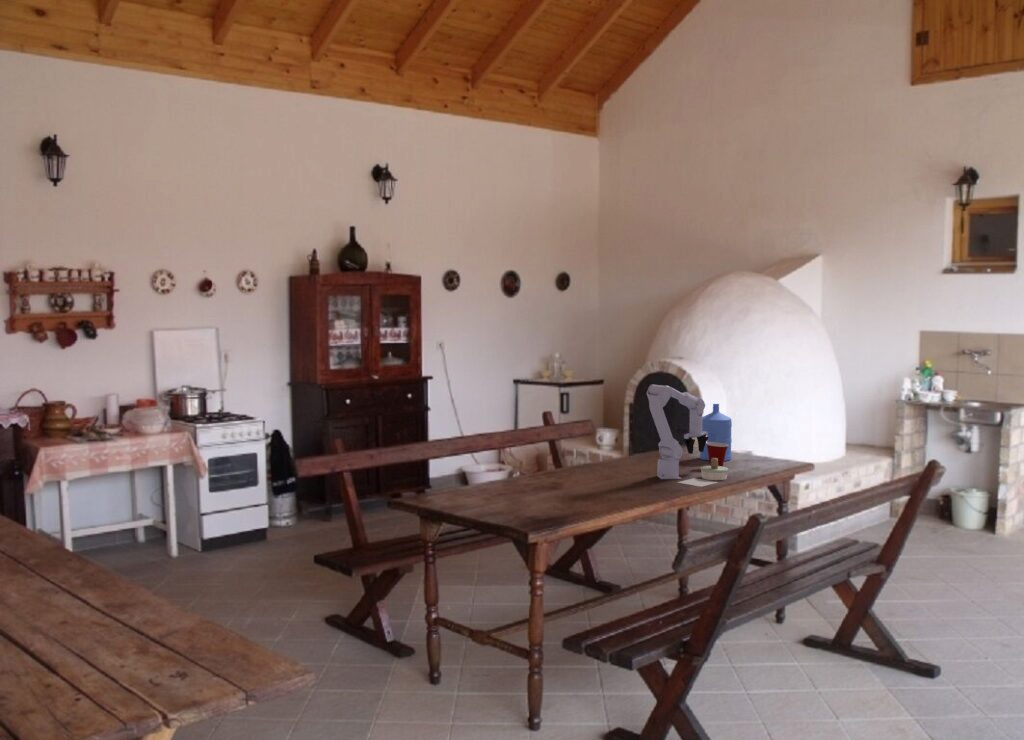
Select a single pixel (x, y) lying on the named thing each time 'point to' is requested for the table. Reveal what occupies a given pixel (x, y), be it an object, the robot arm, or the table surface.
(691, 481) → the mat
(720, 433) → the water jug
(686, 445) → the robot arm
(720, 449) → the plastic cup
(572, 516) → the table surface
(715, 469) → the lid
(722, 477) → the white low cylinder
